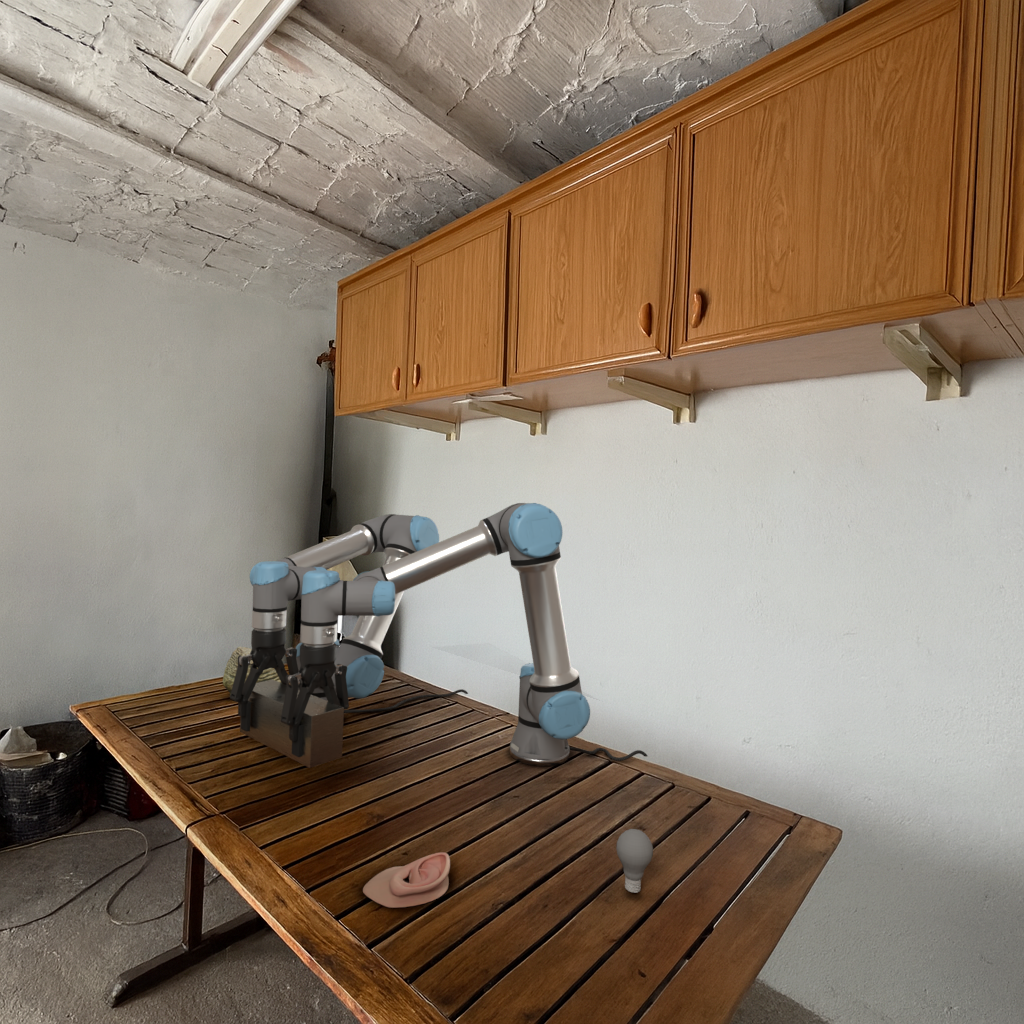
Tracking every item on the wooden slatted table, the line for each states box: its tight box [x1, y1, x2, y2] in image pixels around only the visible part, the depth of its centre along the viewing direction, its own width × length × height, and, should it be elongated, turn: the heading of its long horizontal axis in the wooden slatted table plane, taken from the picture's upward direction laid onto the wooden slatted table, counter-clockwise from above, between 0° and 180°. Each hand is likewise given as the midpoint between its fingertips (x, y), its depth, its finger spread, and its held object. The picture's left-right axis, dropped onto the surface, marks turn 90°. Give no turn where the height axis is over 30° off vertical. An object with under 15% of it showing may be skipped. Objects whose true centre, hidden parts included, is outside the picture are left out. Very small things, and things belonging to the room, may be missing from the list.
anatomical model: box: [362, 851, 451, 909], centre depth 104 cm, size 13×4×12 cm
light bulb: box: [615, 828, 654, 894], centre depth 106 cm, size 6×6×10 cm
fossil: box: [222, 646, 281, 695], centre depth 198 cm, size 9×18×15 cm, turn 132°
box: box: [239, 680, 345, 769], centre depth 141 cm, size 28×8×11 cm, turn 51°
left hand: (265, 724), depth 148 cm, fingers open, 9 cm apart
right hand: (314, 749), depth 135 cm, fingers closed on box, 8 cm apart
